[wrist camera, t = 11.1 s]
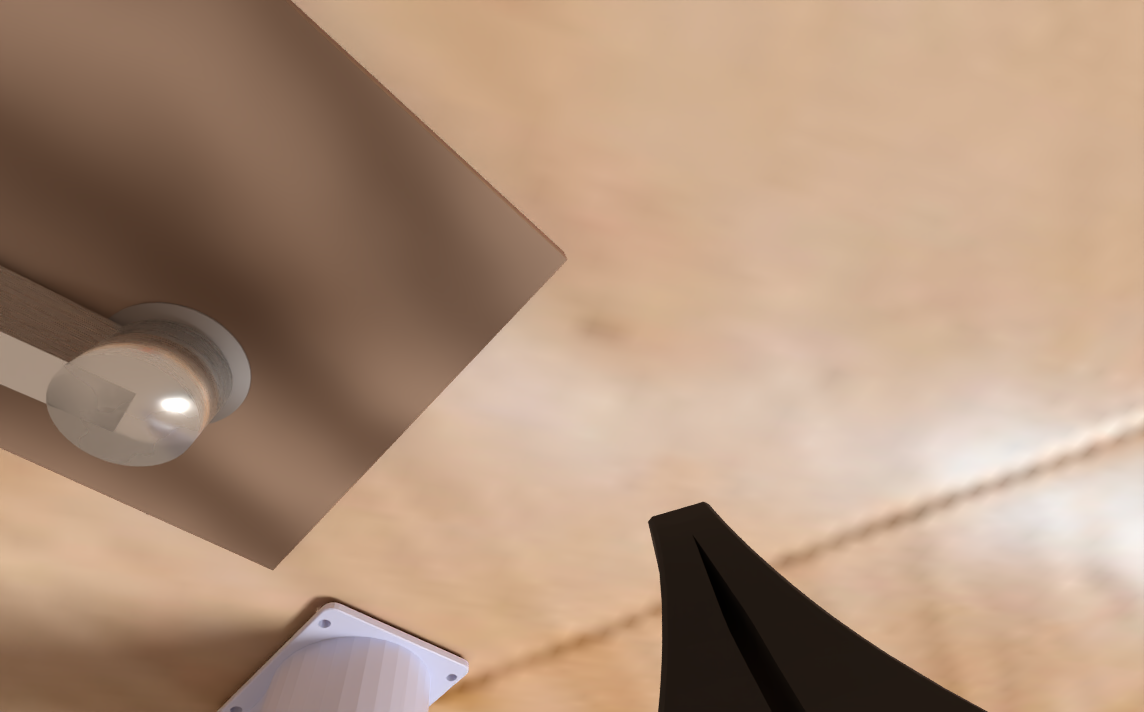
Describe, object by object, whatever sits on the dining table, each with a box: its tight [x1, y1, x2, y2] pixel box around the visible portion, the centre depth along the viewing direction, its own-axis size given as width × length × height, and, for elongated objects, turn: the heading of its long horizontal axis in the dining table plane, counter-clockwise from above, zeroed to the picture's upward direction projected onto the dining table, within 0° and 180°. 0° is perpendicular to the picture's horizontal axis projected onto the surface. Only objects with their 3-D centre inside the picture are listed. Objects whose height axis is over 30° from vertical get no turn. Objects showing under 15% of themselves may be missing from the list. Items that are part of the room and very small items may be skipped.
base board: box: [0, 0, 567, 570], centre depth 16 cm, size 17×16×3 cm
